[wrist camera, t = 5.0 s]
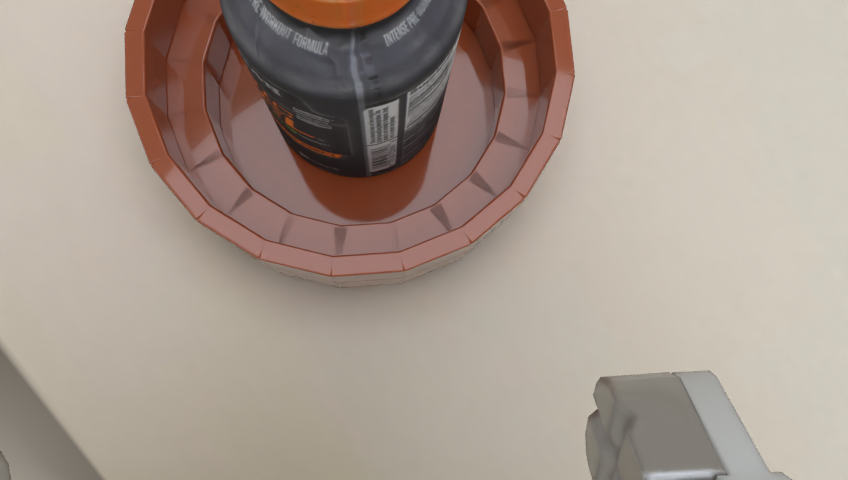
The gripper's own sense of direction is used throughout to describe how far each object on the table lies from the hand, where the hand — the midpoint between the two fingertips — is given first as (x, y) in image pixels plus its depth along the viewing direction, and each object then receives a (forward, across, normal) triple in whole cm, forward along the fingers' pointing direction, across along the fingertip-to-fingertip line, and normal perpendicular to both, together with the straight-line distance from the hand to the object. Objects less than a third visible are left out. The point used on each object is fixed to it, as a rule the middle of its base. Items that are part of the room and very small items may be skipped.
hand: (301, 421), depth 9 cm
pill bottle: (+17, -1, +3) cm, 17 cm away
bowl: (+17, -1, +4) cm, 17 cm away
